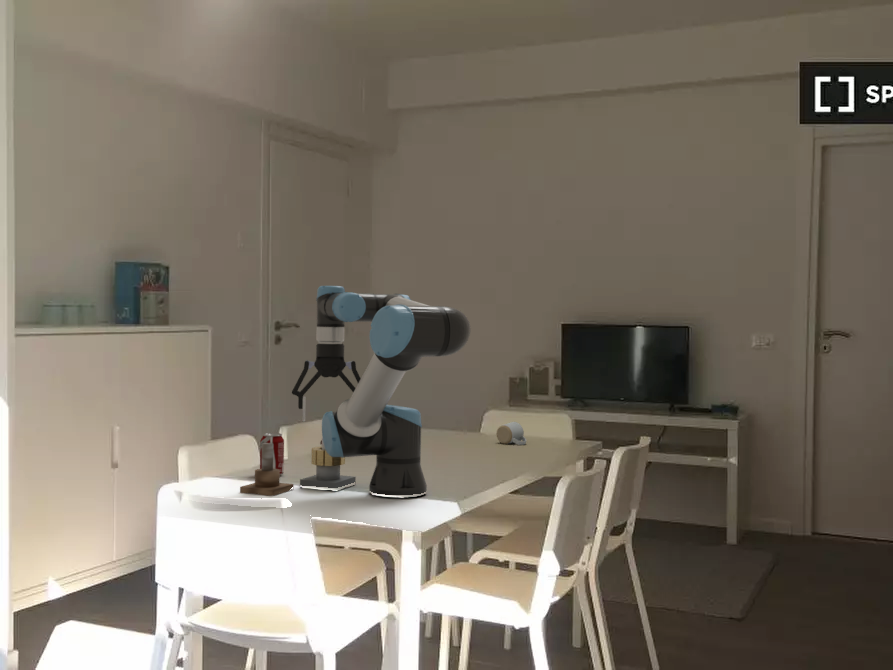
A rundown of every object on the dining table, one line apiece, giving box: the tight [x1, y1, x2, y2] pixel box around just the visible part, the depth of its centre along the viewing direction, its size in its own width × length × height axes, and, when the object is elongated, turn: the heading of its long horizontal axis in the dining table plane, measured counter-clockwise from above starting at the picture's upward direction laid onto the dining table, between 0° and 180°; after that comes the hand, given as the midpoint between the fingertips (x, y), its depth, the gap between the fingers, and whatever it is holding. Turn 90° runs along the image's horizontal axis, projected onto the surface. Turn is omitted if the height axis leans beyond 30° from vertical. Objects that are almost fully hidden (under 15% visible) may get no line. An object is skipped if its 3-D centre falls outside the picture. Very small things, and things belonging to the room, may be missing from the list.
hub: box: [299, 436, 357, 488], centre depth 265 cm, size 11×11×13 cm
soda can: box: [259, 432, 285, 475], centre depth 281 cm, size 7×7×12 cm
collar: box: [311, 446, 346, 466], centre depth 265 cm, size 9×9×4 cm
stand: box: [239, 443, 294, 497], centre depth 257 cm, size 10×10×12 cm
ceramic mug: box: [496, 421, 527, 446], centre depth 360 cm, size 11×8×8 cm
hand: (329, 421), depth 264 cm, fingers open, 13 cm apart
